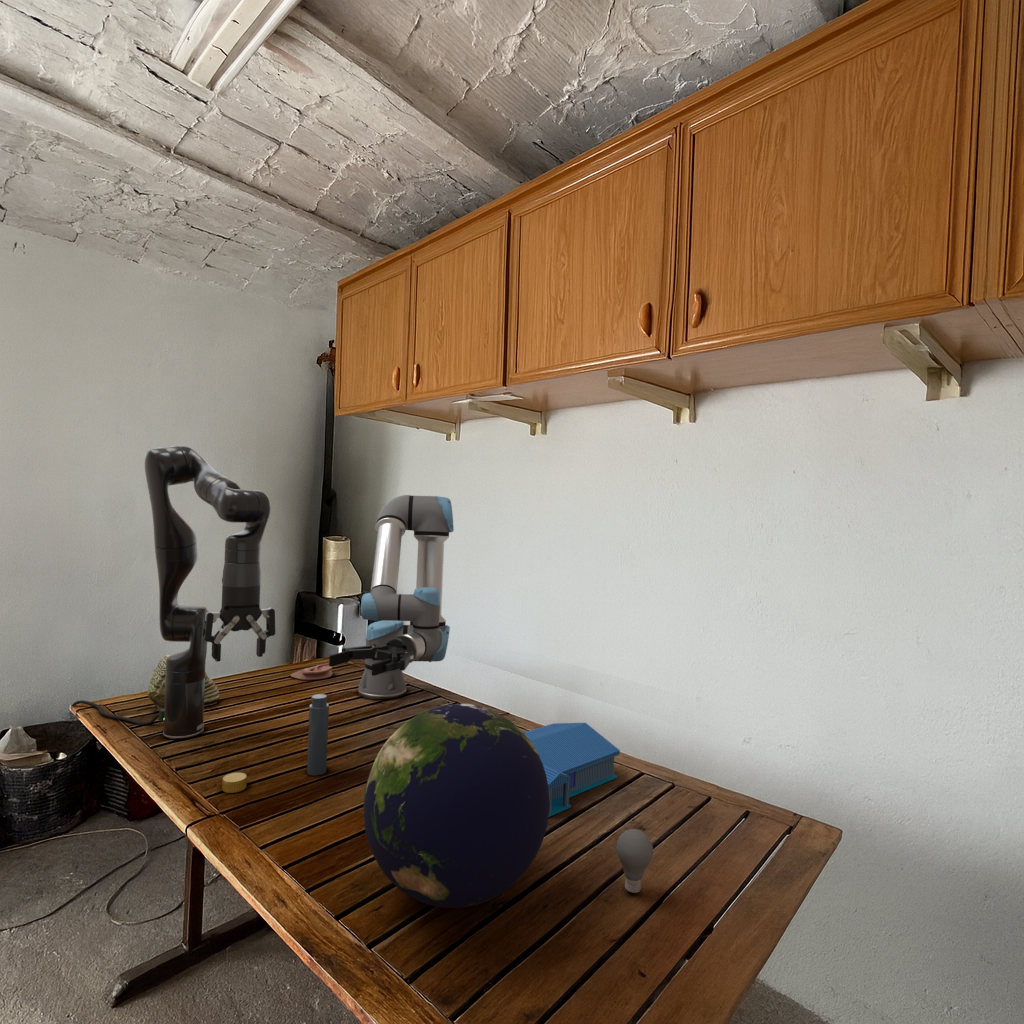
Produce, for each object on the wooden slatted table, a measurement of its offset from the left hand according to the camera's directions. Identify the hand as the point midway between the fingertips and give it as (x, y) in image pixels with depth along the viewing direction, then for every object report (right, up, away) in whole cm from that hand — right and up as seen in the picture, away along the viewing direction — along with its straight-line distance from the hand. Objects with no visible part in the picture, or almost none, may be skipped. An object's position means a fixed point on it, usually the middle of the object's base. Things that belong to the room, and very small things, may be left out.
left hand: (238, 658), depth 136 cm
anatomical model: (-11, -26, +85) cm, 90 cm away
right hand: (+19, -6, +19) cm, 28 cm away
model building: (+63, -31, +7) cm, 70 cm away
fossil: (-38, -26, +49) cm, 67 cm away
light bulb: (+79, -32, -30) cm, 90 cm away
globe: (+49, -31, -32) cm, 66 cm away
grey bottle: (+13, -28, +10) cm, 33 cm away
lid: (-1, -26, 0) cm, 26 cm away
